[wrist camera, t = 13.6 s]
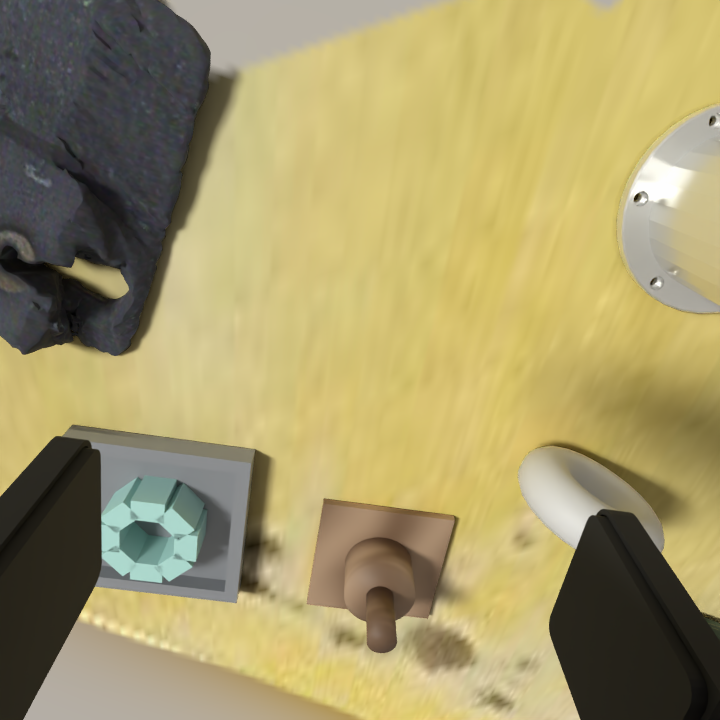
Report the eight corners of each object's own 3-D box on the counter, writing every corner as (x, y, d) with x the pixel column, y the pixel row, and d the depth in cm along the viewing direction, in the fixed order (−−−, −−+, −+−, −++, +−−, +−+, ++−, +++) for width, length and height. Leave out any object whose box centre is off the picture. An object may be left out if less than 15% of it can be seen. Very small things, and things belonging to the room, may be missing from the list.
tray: (255, 449, 44) (251, 463, 42) (240, 585, 49) (236, 603, 47) (72, 424, 43) (60, 438, 41) (76, 566, 48) (66, 583, 46)
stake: (453, 515, 46) (472, 594, 39) (427, 612, 50) (439, 701, 43) (324, 498, 45) (317, 575, 38) (307, 598, 49) (298, 686, 42)
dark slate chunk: (266, 63, 34) (253, 58, 30) (121, 369, 42) (94, 400, 37) (0, -105, 31) (-59, -139, 27) (-105, 258, 38) (-164, 279, 34)
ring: (209, 483, 44) (199, 509, 41) (203, 558, 47) (194, 586, 44) (111, 471, 44) (95, 496, 41) (112, 547, 46) (96, 575, 44)
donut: (634, 469, 44) (706, 565, 35) (606, 503, 46) (669, 605, 36) (519, 416, 43) (564, 503, 33) (494, 453, 44) (530, 547, 35)
